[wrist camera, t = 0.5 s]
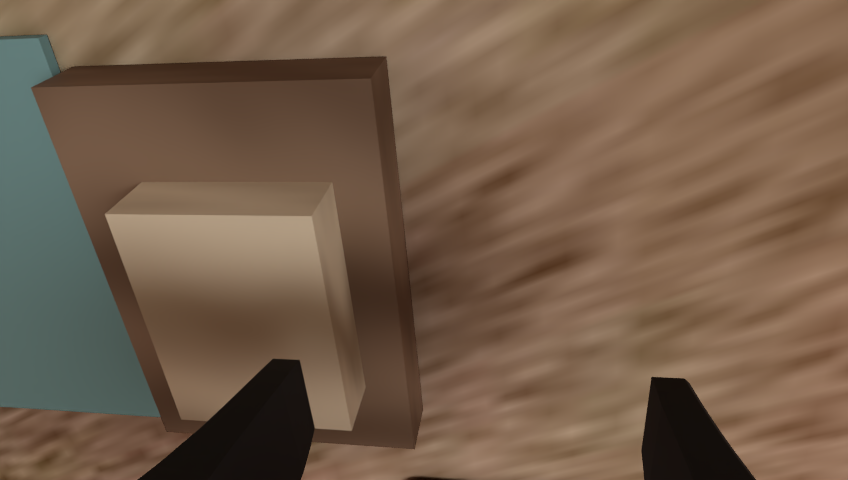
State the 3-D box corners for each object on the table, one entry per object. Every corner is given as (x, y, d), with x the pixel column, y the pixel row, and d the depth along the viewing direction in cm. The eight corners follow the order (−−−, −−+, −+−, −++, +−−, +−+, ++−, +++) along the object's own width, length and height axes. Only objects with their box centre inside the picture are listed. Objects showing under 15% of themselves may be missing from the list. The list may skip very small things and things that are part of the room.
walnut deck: (422, 409, 26) (414, 449, 24) (189, 395, 28) (166, 431, 26) (386, 56, 19) (370, 78, 17) (72, 66, 20) (30, 87, 19)
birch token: (365, 387, 23) (351, 431, 21) (206, 378, 24) (181, 419, 22) (332, 182, 19) (311, 216, 17) (141, 181, 20) (104, 214, 18)
